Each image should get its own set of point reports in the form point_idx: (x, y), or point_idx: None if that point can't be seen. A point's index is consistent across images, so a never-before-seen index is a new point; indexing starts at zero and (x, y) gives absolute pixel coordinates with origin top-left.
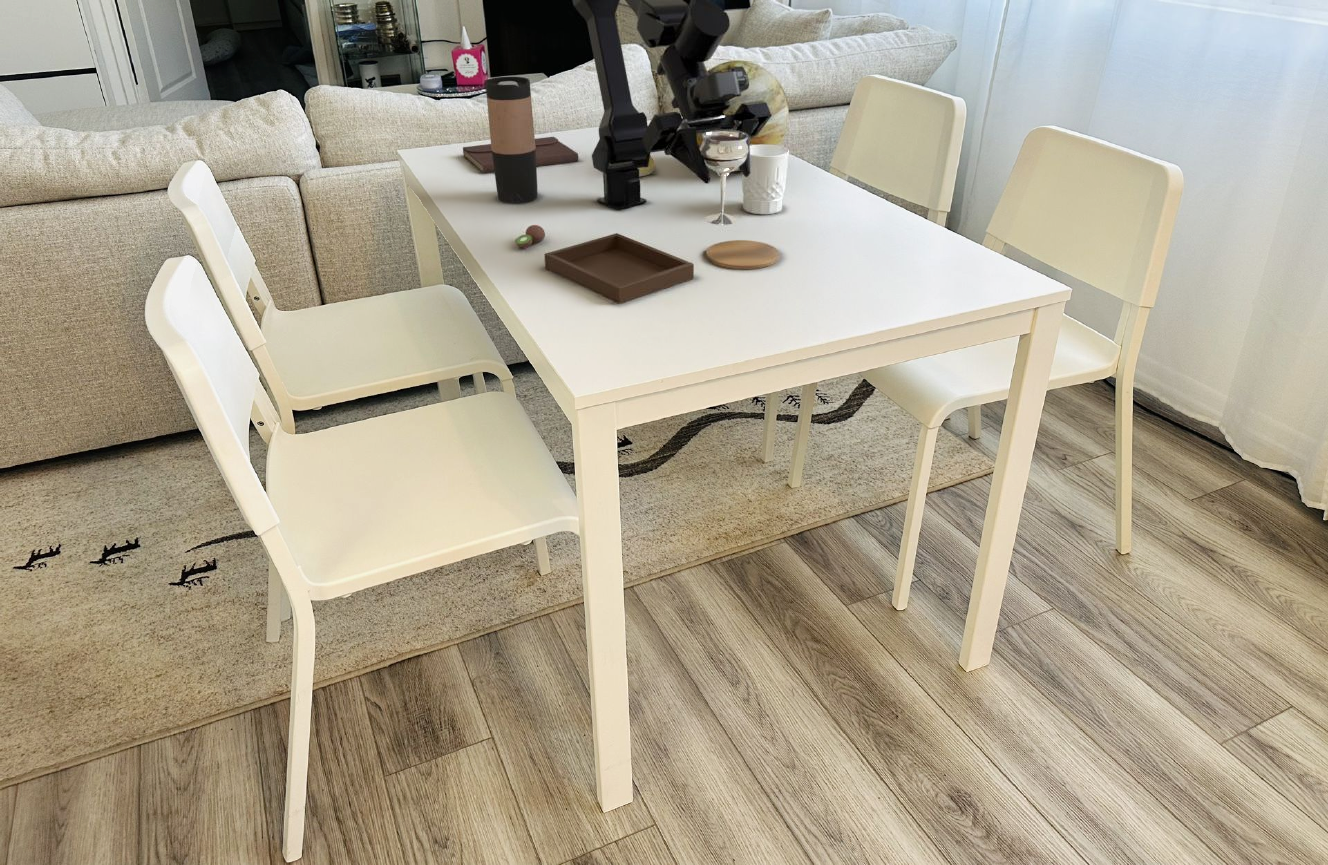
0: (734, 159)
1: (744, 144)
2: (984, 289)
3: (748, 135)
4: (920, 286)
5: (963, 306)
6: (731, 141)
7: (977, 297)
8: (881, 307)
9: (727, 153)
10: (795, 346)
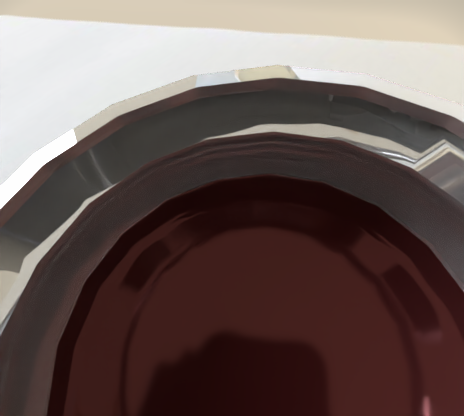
0: (297, 179)
1: (161, 160)
2: (42, 47)
3: (19, 168)
4: (86, 84)
5: (108, 30)
6: (371, 77)
7: (72, 37)
8: (184, 65)
9: (368, 169)
10: (358, 40)
